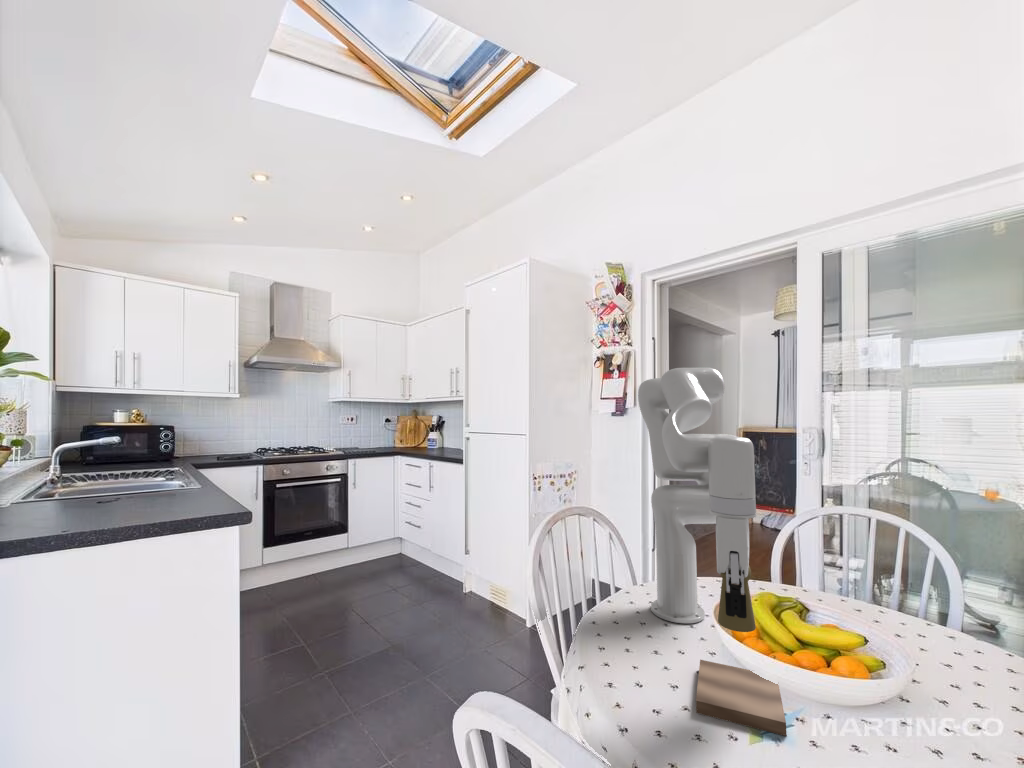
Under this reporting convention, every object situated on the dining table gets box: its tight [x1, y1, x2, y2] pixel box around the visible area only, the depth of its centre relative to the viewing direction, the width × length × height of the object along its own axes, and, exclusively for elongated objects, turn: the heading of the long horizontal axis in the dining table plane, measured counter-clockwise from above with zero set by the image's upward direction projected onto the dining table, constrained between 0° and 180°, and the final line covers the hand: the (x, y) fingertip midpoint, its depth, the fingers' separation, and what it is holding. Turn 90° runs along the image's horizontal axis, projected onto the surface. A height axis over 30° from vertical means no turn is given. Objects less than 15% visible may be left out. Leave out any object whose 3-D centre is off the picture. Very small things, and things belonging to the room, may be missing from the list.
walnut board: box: [695, 659, 788, 737], centre depth 80 cm, size 14×13×2 cm
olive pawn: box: [717, 559, 757, 633], centre depth 81 cm, size 6×6×11 cm
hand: (735, 609), depth 80 cm, fingers closed on olive pawn, 4 cm apart
